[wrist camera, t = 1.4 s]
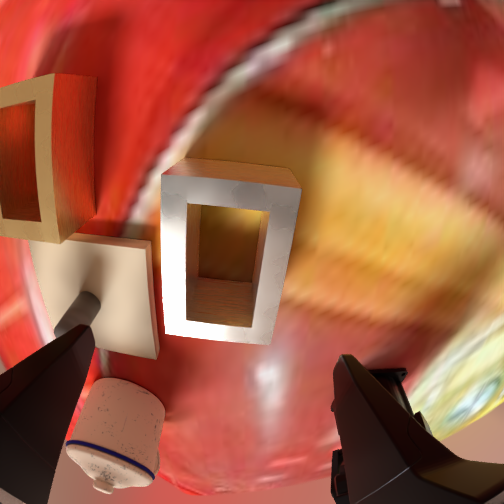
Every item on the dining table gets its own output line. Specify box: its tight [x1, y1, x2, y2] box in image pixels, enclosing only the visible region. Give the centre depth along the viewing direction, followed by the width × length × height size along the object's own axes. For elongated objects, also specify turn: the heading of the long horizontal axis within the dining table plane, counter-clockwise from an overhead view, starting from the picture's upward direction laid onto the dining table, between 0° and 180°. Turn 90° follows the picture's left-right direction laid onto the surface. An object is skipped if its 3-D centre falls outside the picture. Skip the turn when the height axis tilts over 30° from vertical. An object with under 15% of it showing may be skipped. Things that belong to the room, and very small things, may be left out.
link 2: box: [161, 158, 302, 345], centre depth 16 cm, size 9×6×4 cm, turn 173°
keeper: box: [28, 233, 160, 360], centre depth 18 cm, size 10×10×5 cm
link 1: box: [0, 73, 97, 244], centre depth 13 cm, size 9×6×4 cm, turn 173°
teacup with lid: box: [66, 378, 165, 494], centre depth 22 cm, size 12×9×12 cm
